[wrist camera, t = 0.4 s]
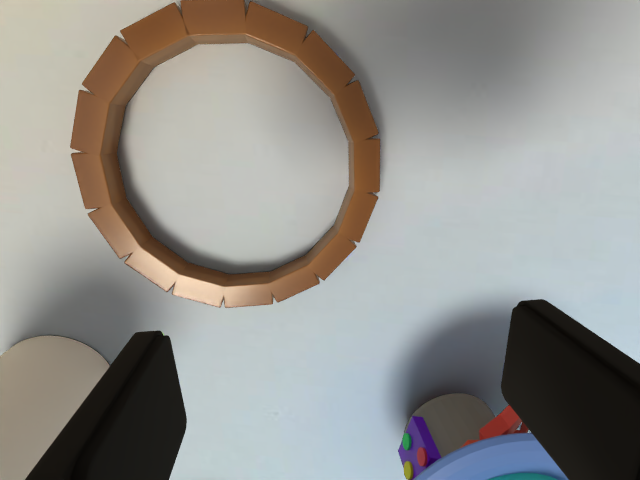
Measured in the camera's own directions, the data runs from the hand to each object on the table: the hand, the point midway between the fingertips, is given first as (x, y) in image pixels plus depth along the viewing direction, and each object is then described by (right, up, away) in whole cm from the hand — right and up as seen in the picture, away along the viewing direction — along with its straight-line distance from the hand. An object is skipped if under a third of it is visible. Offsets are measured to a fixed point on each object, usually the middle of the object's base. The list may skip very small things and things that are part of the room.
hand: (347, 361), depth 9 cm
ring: (-6, +8, +13) cm, 16 cm away
